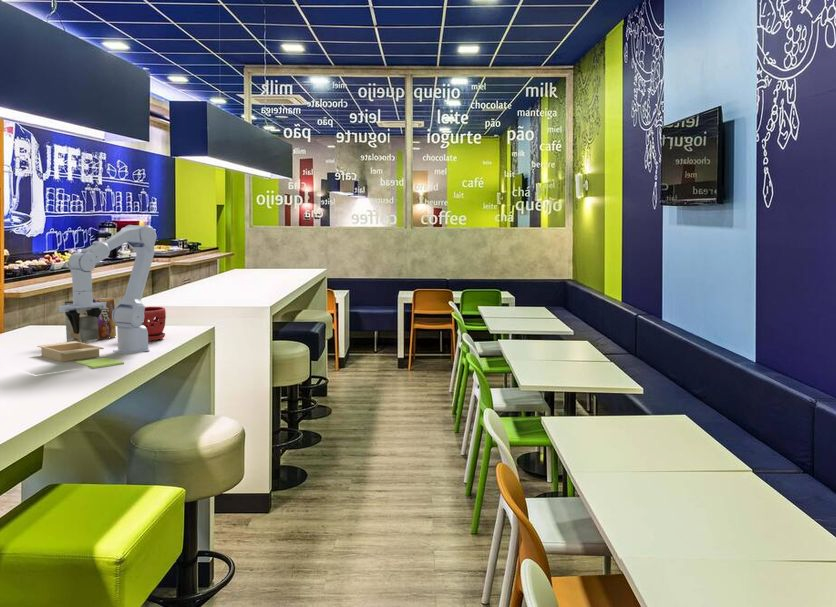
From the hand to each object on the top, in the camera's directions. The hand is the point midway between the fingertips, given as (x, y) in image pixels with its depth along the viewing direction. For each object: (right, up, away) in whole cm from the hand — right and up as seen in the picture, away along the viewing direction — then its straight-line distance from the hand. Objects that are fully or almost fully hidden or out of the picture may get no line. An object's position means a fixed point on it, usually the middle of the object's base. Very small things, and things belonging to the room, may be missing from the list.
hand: (84, 332), depth 238 cm
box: (0, -2, 0) cm, 2 cm away
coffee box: (-15, -6, +31) cm, 35 cm away
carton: (-7, -8, +6) cm, 13 cm away
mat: (+6, -10, -3) cm, 12 cm away
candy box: (-13, -4, +44) cm, 46 cm away
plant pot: (+5, -5, +42) cm, 43 cm away
